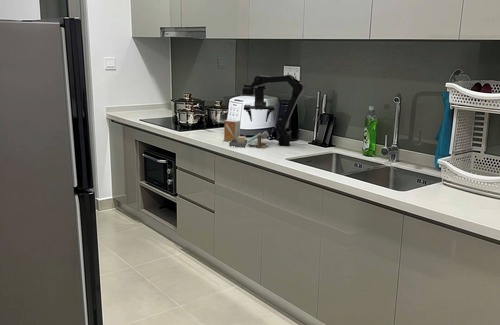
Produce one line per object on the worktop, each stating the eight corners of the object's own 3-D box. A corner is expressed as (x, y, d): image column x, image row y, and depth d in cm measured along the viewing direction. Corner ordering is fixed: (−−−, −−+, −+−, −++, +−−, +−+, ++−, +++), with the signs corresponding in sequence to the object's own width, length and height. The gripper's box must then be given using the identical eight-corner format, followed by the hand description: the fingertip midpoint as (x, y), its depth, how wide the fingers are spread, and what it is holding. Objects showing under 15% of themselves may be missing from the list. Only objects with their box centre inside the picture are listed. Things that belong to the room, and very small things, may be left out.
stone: (245, 136, 289) (238, 136, 290) (244, 137, 285) (237, 137, 285) (245, 144, 290) (238, 143, 291) (244, 145, 286) (237, 145, 286)
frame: (266, 144, 294) (266, 132, 292) (265, 148, 281) (265, 135, 279) (258, 144, 294) (258, 131, 292) (256, 148, 281) (257, 135, 280)
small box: (223, 141, 301) (224, 120, 298) (229, 139, 306) (229, 119, 303) (234, 142, 297) (235, 121, 294) (240, 141, 302) (240, 120, 300)
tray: (246, 143, 294) (246, 139, 293) (245, 147, 283) (245, 143, 282) (231, 143, 295) (231, 139, 294) (229, 146, 283) (229, 142, 283)
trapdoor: (268, 134, 290) (265, 128, 289) (268, 136, 282) (264, 131, 281) (251, 144, 292) (248, 139, 292) (250, 147, 284) (246, 142, 283)
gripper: (243, 97, 285) (242, 123, 289) (274, 98, 285) (274, 124, 288) (244, 95, 296) (244, 120, 300) (274, 96, 296) (273, 121, 299)
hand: (258, 121), depth 297 cm, fingers open, 9 cm apart
